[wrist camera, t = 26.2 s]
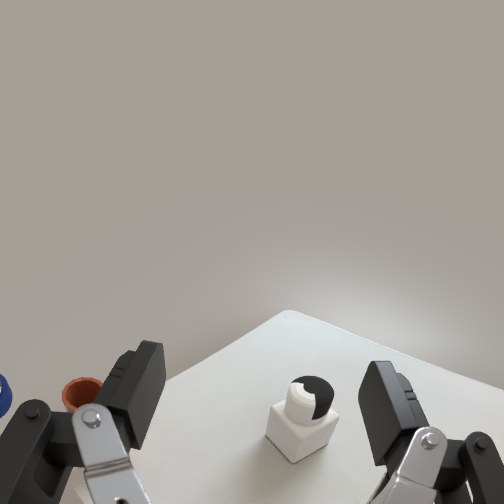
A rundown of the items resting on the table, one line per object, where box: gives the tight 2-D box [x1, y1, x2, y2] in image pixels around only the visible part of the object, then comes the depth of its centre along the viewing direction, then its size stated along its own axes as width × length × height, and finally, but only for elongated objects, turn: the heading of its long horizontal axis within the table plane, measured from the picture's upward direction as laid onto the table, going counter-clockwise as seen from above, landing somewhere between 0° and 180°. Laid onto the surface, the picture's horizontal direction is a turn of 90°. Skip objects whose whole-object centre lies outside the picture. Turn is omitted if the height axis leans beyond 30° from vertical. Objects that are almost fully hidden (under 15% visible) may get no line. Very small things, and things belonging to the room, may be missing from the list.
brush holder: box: [62, 377, 130, 459], centre depth 30 cm, size 6×6×14 cm
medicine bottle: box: [266, 376, 339, 463], centre depth 38 cm, size 7×7×12 cm
